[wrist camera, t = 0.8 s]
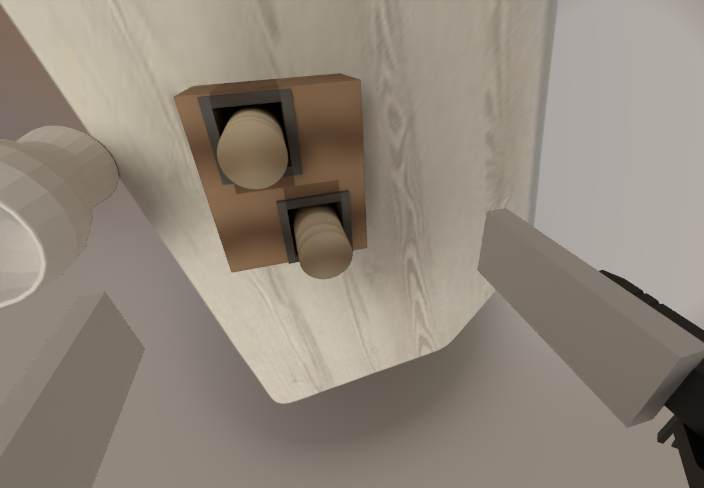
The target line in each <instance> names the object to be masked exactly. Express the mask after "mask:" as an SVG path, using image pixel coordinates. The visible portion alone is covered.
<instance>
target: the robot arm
mask: <svg viewBox="0 0 704 488" xmlns="http://www.w3.org/2000/svg"><path fill="white" fill-rule="evenodd" d="M478 271H479V272H480V273H481V274H482V275H483V276H484V277H485V278H486V280H487V281H488V282H489V283H490V284H491V285H492V286H493V287H494V288H495V289H496V290H497V291H498V292H499V293H500V294H501V295H502V296H503V297H504V298H505V300H506V301H507V302H508V303H509V304H510V305H511V306H512V307H513V308H514V309H515V310H516V311H517V312H518V313H519V314H520V315H521V316H522V318H524V320H525V321H526V322H527V323H528V324H529V325H530V326H531V327H532V328H533V329H534V330H535V331H536V332H537V333H538V334H539V335H540V336H541V338H542V339H543V340H544V341H545V342H546V343H547V344H548V345H549V346H550V347H551V348H552V349H553V350H554V351H555V352H556V353H557V354H558V355H559V356H560V358H561V359H562V360H563V361H564V362H565V363H566V364H567V365H568V366H569V367H570V368H571V369H572V370H573V371H574V372H575V373H576V374H577V376H579V377H580V379H581V380H582V381H583V382H584V383H585V384H586V385H587V386H588V387H589V388H590V389H591V390H592V391H593V392H594V393H595V395H597V397H598V398H599V399H600V400H601V401H602V402H603V403H604V404H605V405H606V406H607V407H608V408H609V409H610V410H611V411H612V412H613V414H614V415H615V416H616V417H617V418H618V419H619V420H620V421H621V422H622V423H623V424H624V425H625V426H626V427H627V428H628V427H631V426H634V425H637V424H640V423H643V422H646V421H649V420H652V419H653V418H654V417H655V416H656V415H657V414H658V412H659V411H660V410H661V408H662V407H663V406H664V405H665V406H666V407H667V408H668V409H669V410H670V411H671V412H672V413H674V414H675V415H674V416H673V417H672V418H671V419H670V420H669V421H668V422H667V424H666V425H665V426H664V427H663V428H662V429H661V430H660V431H659V433H658V437H657V439H658V441H657V442H660V443H664V442H665V441H666V440H667V439H668V438H669V437H670V436H671V435H672V434H673V433H674V437H675V440H674V441H673V443H672V447H674V448H677V449H678V450H679V454H680V457H681V460H682V464H683V467H684V471H685V474H686V477H687V480H688V484H689V487H690V488H704V330H702V329H701V328H699V327H698V326H696V325H694V324H693V323H692V322H690V321H688V320H687V319H685V318H684V317H682V316H681V315H679V314H678V313H676V312H675V311H673V310H672V309H670V308H668V307H667V306H665V305H664V304H659V302H658V301H657V300H656V299H655V298H653V297H652V296H650V295H649V294H647V293H646V294H644V293H643V291H642V290H641V289H639V288H638V287H636V286H635V285H633V284H632V283H630V282H628V281H627V280H625V279H624V278H621V277H619V276H616V275H614V274H611V273H609V272H607V271H604V270H601V271H597V270H596V269H594V268H593V267H591V266H590V265H588V264H587V263H586V262H584V261H583V260H581V259H580V258H578V257H577V256H575V255H574V254H572V253H571V252H569V251H568V250H566V249H565V248H563V247H562V246H561V245H559V244H558V243H556V242H555V241H553V240H552V239H550V238H549V237H547V236H546V235H544V234H543V233H541V232H540V231H538V230H537V229H536V228H534V227H533V226H531V225H530V224H528V223H527V222H525V221H524V220H522V219H521V218H519V217H518V216H516V215H515V214H513V213H512V212H510V211H509V210H508V209H506V208H504V209H499V210H494V211H489V212H487V215H486V221H485V227H484V233H483V239H482V246H481V252H480V258H479V264H478ZM144 350H145V348H144V346H143V345H142V343H141V342H140V341H139V339H138V338H137V336H136V335H135V333H134V332H133V331H132V329H131V328H130V326H129V325H128V323H127V322H126V321H125V319H124V318H123V316H122V315H121V313H120V312H119V311H118V309H117V308H116V306H115V305H114V303H113V302H112V300H111V299H110V298H109V296H108V295H107V293H106V292H100V293H96V294H90V295H86V296H81V297H78V298H77V299H76V301H75V302H74V304H73V305H72V307H71V308H70V309H69V311H68V312H67V314H66V315H65V316H64V317H63V319H62V320H61V322H60V323H59V325H58V326H57V327H56V328H55V330H54V331H53V333H52V334H51V335H50V337H49V338H48V339H47V341H46V343H45V344H44V345H43V347H42V348H41V349H40V350H39V352H38V353H37V355H36V356H35V358H34V359H33V360H32V362H31V363H30V364H29V366H28V367H27V368H26V370H25V372H24V373H23V374H22V375H21V377H20V378H19V379H18V381H17V382H16V384H15V385H14V386H13V388H12V389H11V390H10V392H9V393H8V395H7V396H6V397H5V399H4V400H3V402H2V403H1V404H0V488H92V486H93V483H94V480H95V478H96V475H97V473H98V470H99V467H100V465H101V462H102V460H103V457H104V455H105V452H106V449H107V447H108V444H109V442H110V439H111V436H112V434H113V431H114V428H115V426H116V423H117V421H118V418H119V415H120V413H121V410H122V408H123V405H124V402H125V400H126V397H127V395H128V392H129V389H130V387H131V384H132V381H133V379H134V376H135V374H136V371H137V369H138V366H139V363H140V360H141V358H142V356H143V353H144Z"/></svg>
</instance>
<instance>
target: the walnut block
mask: <svg viewBox="0 0 704 488" xmlns="http://www.w3.org/2000/svg"><path fill="white" fill-rule="evenodd" d="M174 100H175V103H176V106H177V109H178V112H179V115H180V118H181V121H182V124H183V127H184V130H185V133H186V136H187V139H188V142H189V145H190V148H191V151H192V154H193V157H194V160H195V163H196V166H197V169H198V172H199V175H200V179H201V182H202V185H203V188H204V191H205V194H206V197H207V200H208V203H209V206H210V209H211V212H212V215H213V218H214V221H215V224H216V227H217V230H218V233H219V236H220V239H221V242H222V245H223V248H224V251H225V254H226V257H227V260H228V263H229V266H230V269H231V272H238V271H243V270H249V269H254V268H259V267H265V266H270V265H276V264H281V263H287V262H289V264H290V263H295V262H300V261H299V256H298V250H297V244H296V239H295V233H294V228H293V222H292V218H289V214H288V209H295V208H301V207H307V206H314V205H320V204H327V203H331V204H332V206H333V208H334V210H335V212H336V214H337V217H338V219H339V221H340V223H341V226H342V228H343V230H344V232H345V234H346V237H347V239H348V241H349V243H350V245H351V248H352V252H353V250H357V249H363V248H367V231H366V206H365V181H364V155H363V130H362V105H361V80H359V79H356V78H353V77H350V76H346V75H343V74H329V75H317V76H306V77H294V78H282V79H271V80H259V81H247V82H236V83H224V84H212V85H201V86H193V87H191V88H189V89H187V90H185V91H183V92H181V93H180V94H178V95H176V96H174ZM273 102H279V105H280V110H281V116H282V122H283V128H284V134H285V140H286V142H285V145H286V149H287V153H288V163H287V168H286V170H285V173H284V174H283V176H282V177H281V178H280V180H278V181H277V182H276V183H275V184H273V185H271V186H269V187H267V188H263V189H248V188H244V187H241V186H239V185H237V184H235V183H234V182H232V181H231V180H230V179H229V178H228V177H227V176H226V175H225V174H224V172H223V171H222V169H221V167H220V165H219V162H218V158H217V147H218V143H219V140H220V138H221V136H222V134H223V131H224V129H225V127H226V125H227V123H228V121H229V115H228V111H227V107H232V106H242V105H252V104H262V103H273Z"/></svg>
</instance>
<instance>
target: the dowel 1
mask: <svg viewBox="0 0 704 488" xmlns="http://www.w3.org/2000/svg"><path fill="white" fill-rule="evenodd" d="M217 158H218V162H219V165H220V167H221V169H222V171H223V172H224V174H225V175H226V176H227V177H228V178H229V179H230V180H231V181H232V182H234V183H235V184H237V185H239V186H241V187H244V188H248V189H263V188H267V187H269V186H271V185H273V184H275V183H276V182H277V181H278V180H280V178H281V177H282V176H283V174H284V173H285V170H286V168H287V163H288V153H287V149H286V145H285V141H284V137H283V133H282V129H281V125H280V122H279V120H278V118H277V117H276V115H275V114H274V113H273V112H272V111H271V110H270V109H268V108H266V107H265V106H262V105H259V104H252V105H242V106H240V107H239V108H237V109H236V110H235V111H234V112H233V113H232V115H231V117H230V119H229V121H228V123H227V125H226V127H225V129H224V131H223V134H222V136H221V138H220V140H219V143H218V147H217Z"/></svg>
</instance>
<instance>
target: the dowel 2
mask: <svg viewBox="0 0 704 488" xmlns="http://www.w3.org/2000/svg"><path fill="white" fill-rule="evenodd" d="M292 222H293V228H294V233H295V239H296V244H297V250H298V256H299V261H300V265H301V268H302V269H303V271H304V272H305V273H306V274H308V275H309V276H311V277H314V278H318V279H329V278H333V277H335V276H337V275H339V274H341V273H342V272H344V271H345V270H346V269H347V267H348V266H349V265H350V263H351V260H352V248H351V245H350V243H349V241H348V239H347V237H346V234H345V232H344V230H343V228H342V226H341V223H340V221H339V219H338V217H337V214H336V212H335V210H334V208H333V206H332V204H331V203H327V204H320V205H314V206H307V207H301V208H295V209H293V211H292Z"/></svg>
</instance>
